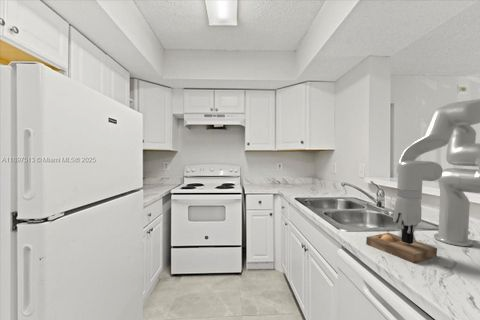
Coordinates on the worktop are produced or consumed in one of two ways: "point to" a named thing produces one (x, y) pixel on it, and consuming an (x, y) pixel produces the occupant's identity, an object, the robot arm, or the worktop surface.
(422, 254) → the board
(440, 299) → the worktop surface
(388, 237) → the ball
